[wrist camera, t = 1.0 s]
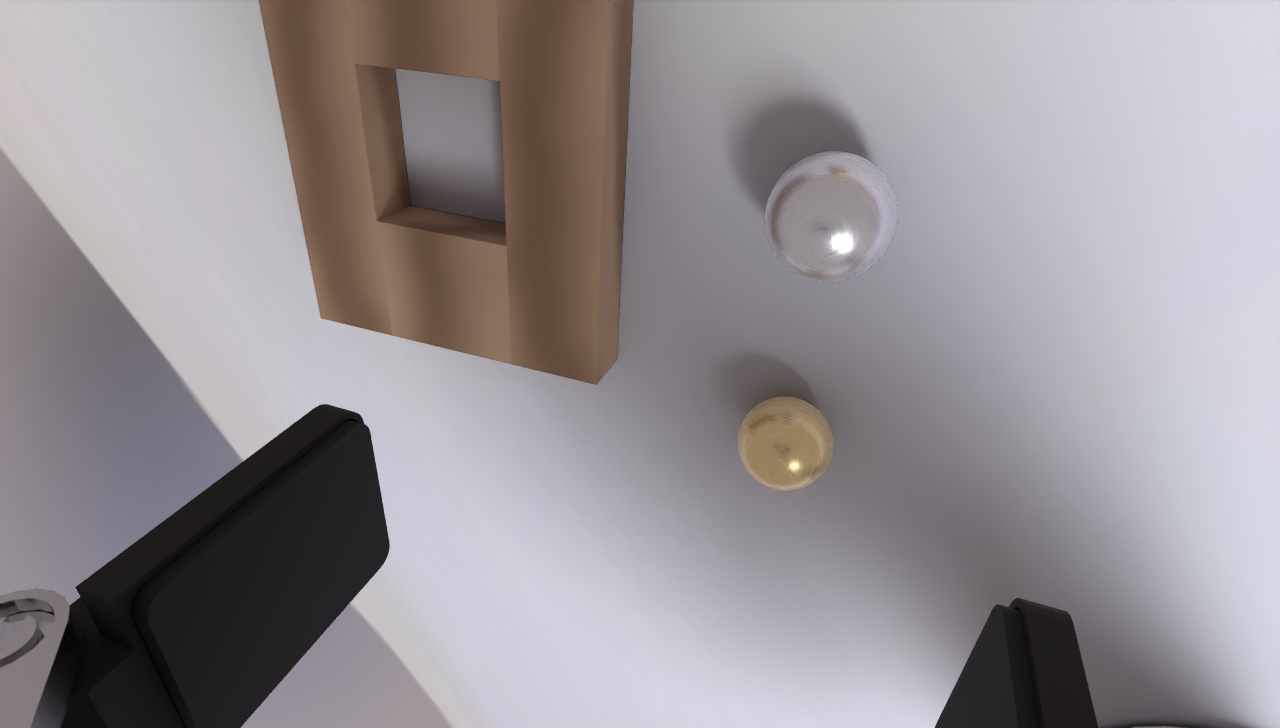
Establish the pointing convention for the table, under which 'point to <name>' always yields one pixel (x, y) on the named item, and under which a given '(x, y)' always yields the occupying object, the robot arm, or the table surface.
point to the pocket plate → (532, 165)
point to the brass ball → (785, 443)
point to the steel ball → (831, 216)
